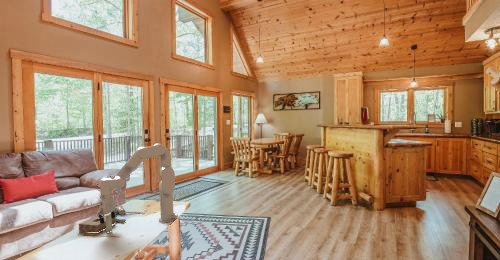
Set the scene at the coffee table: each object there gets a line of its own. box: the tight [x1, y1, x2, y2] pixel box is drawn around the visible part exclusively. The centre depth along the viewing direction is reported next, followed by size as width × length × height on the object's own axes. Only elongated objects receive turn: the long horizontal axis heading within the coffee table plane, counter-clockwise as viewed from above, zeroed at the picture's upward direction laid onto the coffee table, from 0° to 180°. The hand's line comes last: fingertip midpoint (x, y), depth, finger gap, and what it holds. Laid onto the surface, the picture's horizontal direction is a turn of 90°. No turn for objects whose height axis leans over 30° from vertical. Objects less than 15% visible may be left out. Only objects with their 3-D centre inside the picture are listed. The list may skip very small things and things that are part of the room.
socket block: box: [78, 215, 116, 234], centre depth 188 cm, size 16×16×6 cm
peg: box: [104, 213, 113, 233], centre depth 180 cm, size 4×4×12 cm
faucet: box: [109, 205, 146, 223], centre depth 210 cm, size 5×28×28 cm
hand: (107, 220), depth 180 cm, fingers open, 9 cm apart
